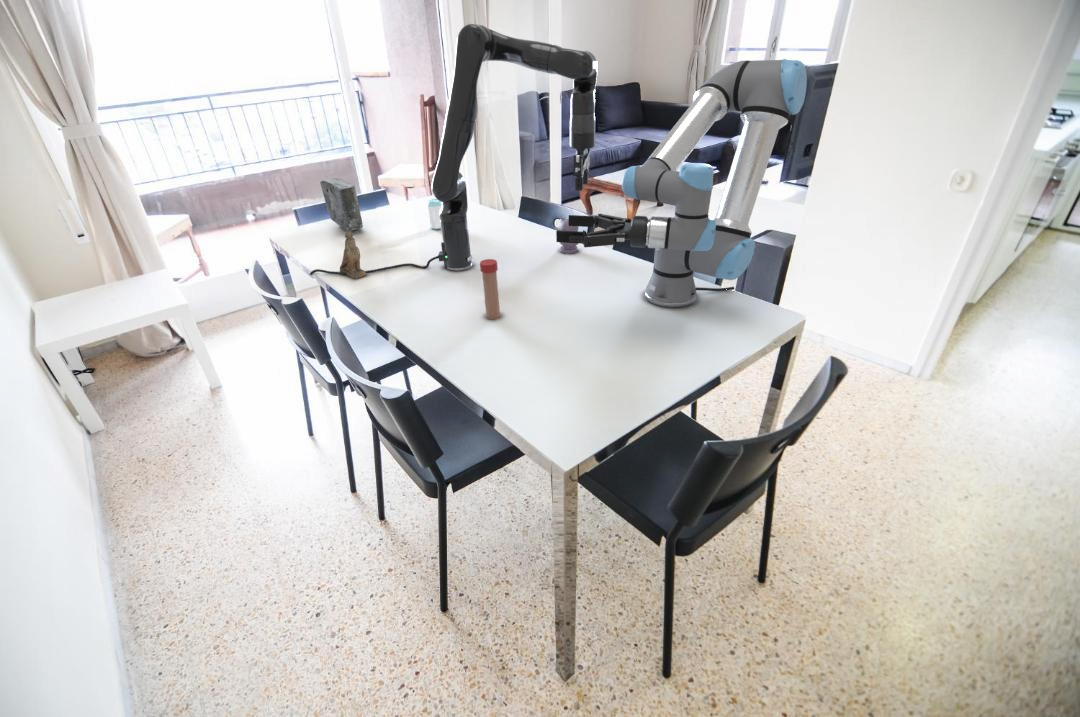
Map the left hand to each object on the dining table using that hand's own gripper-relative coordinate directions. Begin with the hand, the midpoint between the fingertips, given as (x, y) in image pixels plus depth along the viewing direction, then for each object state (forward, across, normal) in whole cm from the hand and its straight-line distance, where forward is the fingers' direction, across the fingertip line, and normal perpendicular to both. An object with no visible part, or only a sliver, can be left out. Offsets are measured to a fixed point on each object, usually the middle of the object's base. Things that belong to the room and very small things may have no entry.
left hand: (581, 186), depth 155 cm
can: (+29, -43, -73) cm, 90 cm away
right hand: (+2, +36, +2) cm, 36 cm away
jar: (+29, +36, -19) cm, 50 cm away
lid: (+13, +36, -19) cm, 43 cm away
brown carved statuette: (+29, +14, -81) cm, 87 cm away
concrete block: (+29, -36, -115) cm, 124 cm away
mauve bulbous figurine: (+29, -23, -9) cm, 38 cm away
